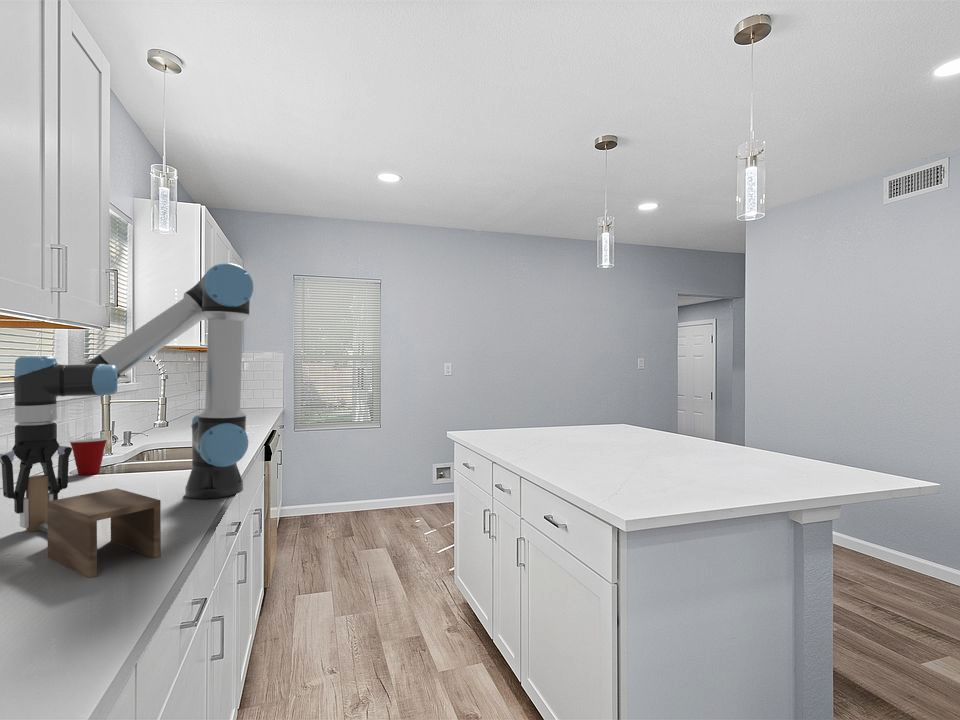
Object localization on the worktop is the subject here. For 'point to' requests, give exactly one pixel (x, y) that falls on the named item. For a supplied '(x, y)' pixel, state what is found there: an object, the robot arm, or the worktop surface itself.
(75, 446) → the plastic cup
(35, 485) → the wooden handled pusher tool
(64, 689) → the worktop surface
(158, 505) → the shelf lane
